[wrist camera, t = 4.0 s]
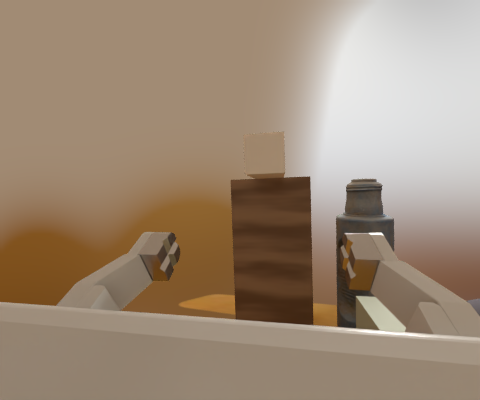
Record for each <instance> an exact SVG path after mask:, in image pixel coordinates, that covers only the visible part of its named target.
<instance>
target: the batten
mask: <svg viewBox="0 0 480 400" xmlns="http://www.w3.org/2000/svg"><path fill="white" fill-rule="evenodd" d="M284 155H285V153H284V132H273V133H260V134H247V135H244V160H245V161H244V162H245V175H247V176H250V177H252V178H255V179H265V178H284V174H285V156H284Z"/></svg>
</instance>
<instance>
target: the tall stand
mask: <svg viewBox="0 0 480 400" xmlns="http://www.w3.org/2000/svg"><path fill="white" fill-rule="evenodd" d="M231 200H232V229H233V255H234V284H235V311H236V320H248V321H262V322H275V323H289V324H303V325H313V286H312V244H311V243H312V238H311V191H310V177H289V178H265V179H245V180H244V179H243V180H231Z"/></svg>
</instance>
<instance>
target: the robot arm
mask: <svg viewBox="0 0 480 400" xmlns="http://www.w3.org/2000/svg"><path fill="white" fill-rule="evenodd" d="M175 240H176V237H175V234H173V233H167V232H166V233H165V232H145V233H143V234H142V235H141V237H140V238H139V240H138V241H137V242H136V243H135V245H134V246H133V247H132V249H131V250H130V251H129V253H128V254H127V255H123V256H121V257H119V258H118V259H116V260H114V261H113V262H111V263H109V264H108V265H106V266H104V267H103V268H101V269H99V270H98V271H96V272H94V273H92V274H91V275H89V276H87V277H86V278H84V279H82V280H81V281H79V282H77V283H76V284H75V285H74V287H73V288H72V289H71V290H70V291H69V292H68V293H67V294H66V295H65V297H64V298H63V299H62V300H61V301H60V302H59V303H58V305H57V306H46V305H32V304H18V303H5V302H0V400H480V316H479V315H478V313H477V312H476V311H475V309H474V308H473V307H472V306H471V304H470V303H468V302H466V301H465V300H463V299H462V298H460V297H458V296H457V295H455V294H454V293H452V292H451V291H449V290H448V289H446V288H445V287H443V286H441V285H440V284H438V283H437V282H435V281H434V280H432V279H430V278H429V277H427V276H426V275H424V274H422V273H421V272H419V271H418V270H416V269H415V268H413V267H412V266H410V265H408V264H407V263H405V262H404V261H399V260H398V258H397V257H396V255H395V253H394V252H393V250H392V248H391V247H390V245H389V243H388V242H387V240H386V238H385V237H384V235H383V234H382V233H344V234H343V237H342V242H343V246H342V247H341V249H340V260H341V265H342V268H343V269H344V270H345V271H346V273H345V278H346V282H347V285H348V288H349V289H352V290H366V291H371V293H372V294H373V295H374V296H375V297H376V298H377V299H378V300H379V301H380V302H381V303H382V304H383V305H384V306H385V307H386V308H387V309H388V310H389V311H390V312H391V313H392V314H393V315H394V316H395V317H396V318H397V319H398V320H399V321H400V322H401V323H402V324H403V325H404V326H405V327H406V330H405V332H398V331H384V330H371V329H357V328H344V327H330V326H317V325H303V324H289V323H275V322H262V321H248V320H235V319H234V320H233V319H222V318H207V317H195V316H180V315H168V314H155V313H141V312H128V311H127V312H126V311H121V310H122V309H123V308H124V307H125V306H126V305H127V304H128V303H130V302H131V301H132V300H133V299H134V298H135V297H136V296H137V295H138V294H139V293H141V292H142V291H143V290H144V289H145V288H146V287H147V286H148V285H150V284H151V283H152V282H153V281H169V279H170V277H171V275H172V273H173V270H174V269H173V266H174V265H175V264H176V263H177V262H178V260H179V256H180V248H179V245H178V244H177V243H175Z"/></svg>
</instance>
